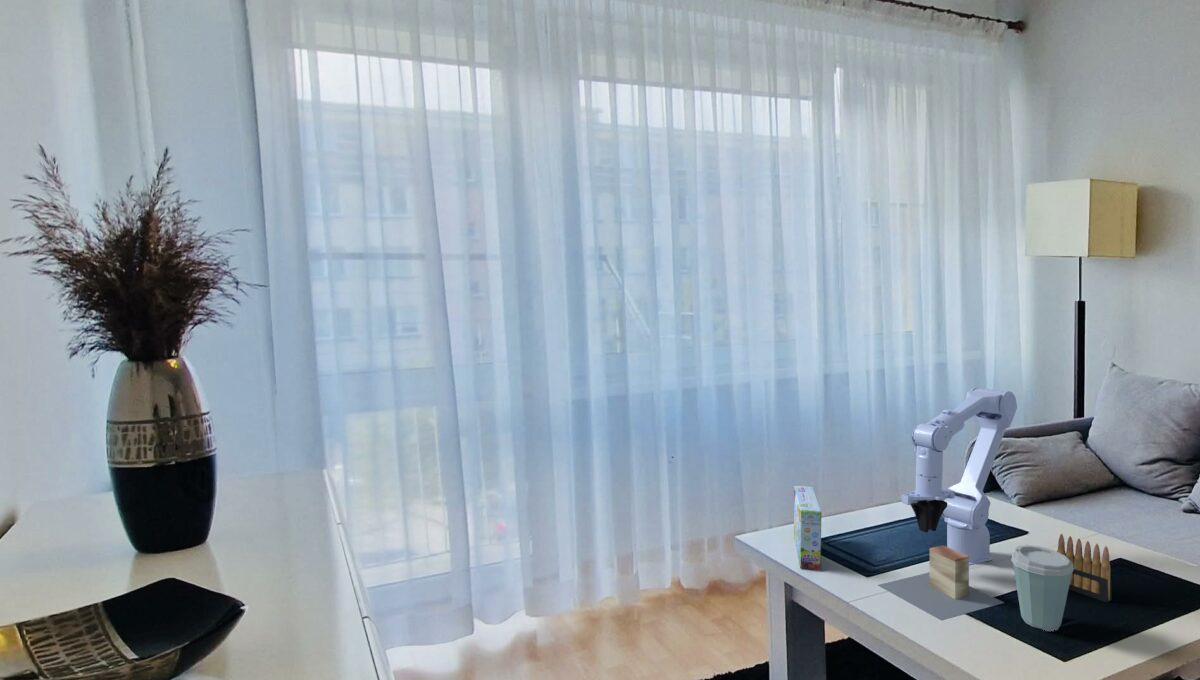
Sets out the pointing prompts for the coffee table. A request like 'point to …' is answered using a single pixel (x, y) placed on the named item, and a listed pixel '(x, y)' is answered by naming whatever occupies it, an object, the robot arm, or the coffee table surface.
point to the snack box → (807, 527)
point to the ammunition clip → (1088, 570)
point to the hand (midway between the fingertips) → (927, 530)
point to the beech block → (949, 571)
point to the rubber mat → (938, 597)
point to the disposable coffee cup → (1041, 585)
